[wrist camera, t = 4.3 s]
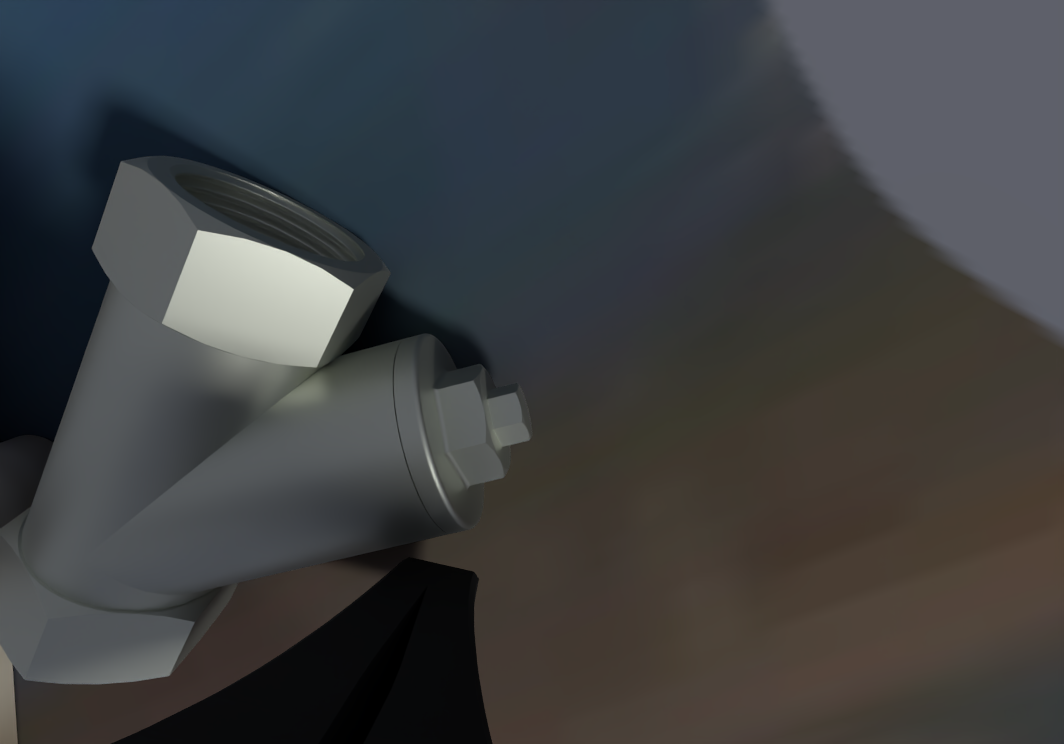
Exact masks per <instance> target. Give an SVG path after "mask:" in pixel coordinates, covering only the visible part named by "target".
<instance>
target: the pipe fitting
mask: <svg viewBox="0 0 1064 744" xmlns="http://www.w3.org/2000/svg"><path fill="white" fill-rule="evenodd" d="M92 250H93V252H94V254H95V256H96V258H97V260H98V261H99V263H100V265H101V267H102V268H103V270H104V272H105V274H106V275H107V276H108V278H109V279H110V282H109V285H108V288H107V291H106V294H105V297H104V299H103V302H102V305H101V308H100V311H99V314H98V317H97V319H96V322H95V325H94V328H93V331H92V334H91V337H90V340H89V342H88V345H87V348H86V351H85V354H84V357H83V360H82V362H81V365H80V368H79V371H78V374H77V377H76V380H75V383H74V385H73V388H72V391H71V394H70V397H69V400H68V403H67V406H66V408H65V411H64V414H63V417H62V420H61V423H60V425H59V428H58V431H57V434H56V437H55V440H54V443H53V445H52V448H51V451H50V454H49V457H48V460H47V463H46V465H45V468H44V471H43V474H42V477H41V480H40V482H39V485H38V488H37V491H36V494H35V497H34V500H33V502H32V505H31V507H30V508H28V509H27V510H25V511H24V512H23V513H21V514H20V515H18V516H17V517H16V518H14V519H13V520H12V521H10V522H9V523H8V524H6V525H5V526H3V527H2V528H1V529H0V645H1V647H2V648H3V650H4V652H5V653H6V655H7V657H8V658H9V660H10V661H11V663H12V664H13V665H14V667H15V668H16V669H17V671H18V672H19V673H20V675H21V676H22V677H23V678H24V680H30V681H39V682H49V683H60V684H108V683H120V682H133V681H140V680H147V679H153V678H159V677H166V676H170V674H171V673H172V672H173V671H174V670H175V669H176V668H177V667H178V665H179V664H180V663H181V662H182V661H183V660H184V659H185V657H186V656H187V655H188V654H189V653H190V651H191V650H192V649H193V648H194V646H195V645H196V644H197V643H198V642H199V640H200V639H201V638H202V637H203V635H204V634H205V633H206V631H207V630H208V629H209V628H210V626H211V625H212V624H213V622H214V621H215V620H216V618H217V617H218V616H219V614H220V613H221V612H222V610H223V609H224V608H225V606H226V605H227V604H228V602H229V601H230V599H231V597H232V595H233V593H234V591H235V589H236V587H237V585H238V583H239V582H243V581H248V580H252V579H256V578H261V577H265V576H270V575H274V574H278V573H283V572H287V571H291V570H296V569H300V568H304V567H309V566H313V565H317V564H322V563H326V562H330V561H335V560H339V559H343V558H348V557H352V556H356V555H361V554H365V553H369V552H374V551H378V550H382V549H387V548H391V547H395V546H400V545H404V544H408V543H412V542H417V541H421V540H425V539H430V538H434V537H438V536H443V535H447V534H452V533H457V532H461V531H465V530H470V529H472V528H474V527H475V526H476V525H477V523H478V522H479V520H480V518H481V514H482V510H483V503H484V482H488V481H492V480H496V479H500V478H504V477H505V475H506V473H507V471H508V469H509V467H510V461H511V452H510V445H512V444H516V443H520V442H524V441H528V440H530V438H531V436H532V425H531V420H530V415H529V411H528V407H527V403H526V400H525V397H524V394H523V391H522V389H521V387H520V386H519V385H518V384H517V383H515V384H511V385H507V386H503V387H499V388H496V387H495V385H494V382H493V380H492V378H491V376H490V374H489V373H488V371H487V370H486V369H485V368H484V367H483V366H482V365H481V364H476V365H473V366H469V367H465V368H461V369H457V368H456V366H455V364H454V362H453V360H452V358H451V356H450V354H449V353H448V351H447V350H446V348H445V347H444V345H443V344H442V343H441V342H440V341H439V340H438V339H437V338H436V337H435V336H433V335H431V334H427V333H424V334H420V335H416V336H413V337H409V338H405V339H401V340H397V341H394V342H390V343H386V344H382V345H379V346H375V347H371V348H368V349H364V350H360V351H356V352H353V353H349V354H345V355H342V354H343V353H344V352H345V351H346V350H347V349H348V348H349V347H350V346H351V345H352V344H353V343H354V342H355V341H356V340H357V339H358V338H359V337H360V335H361V333H362V331H363V329H364V327H365V325H366V323H367V321H368V319H369V317H370V315H371V313H372V311H373V309H374V307H375V304H376V302H377V300H378V298H379V296H380V294H381V292H382V290H383V288H384V286H385V284H386V282H387V280H388V278H389V276H390V274H391V272H390V271H389V270H388V268H387V267H386V266H385V264H384V263H383V262H382V260H381V259H380V258H379V256H378V255H377V254H376V253H375V252H374V251H373V250H372V249H371V248H370V247H369V246H368V245H367V244H365V243H364V242H363V241H362V240H360V239H359V238H358V237H356V236H355V235H354V234H352V233H351V232H349V231H348V230H346V229H345V228H343V227H342V226H340V225H339V224H337V223H335V222H334V221H332V220H330V219H329V218H327V217H325V216H323V215H322V214H320V213H318V212H316V211H315V210H313V209H311V208H309V207H307V206H305V205H303V204H301V203H299V202H297V201H295V200H293V199H291V198H289V197H287V196H285V195H283V194H281V193H279V192H277V191H274V190H272V189H270V188H268V187H265V186H263V185H261V184H259V183H256V182H254V181H251V180H249V179H246V178H244V177H241V176H239V175H236V174H233V173H231V172H228V171H225V170H222V169H219V168H216V167H213V166H210V165H207V164H203V163H200V162H196V161H192V160H188V159H183V158H178V157H172V156H148V157H140V158H135V159H130V160H125V161H121V163H120V166H119V169H118V171H117V174H116V177H115V180H114V183H113V186H112V189H111V192H110V195H109V198H108V201H107V204H106V207H105V210H104V213H103V216H102V219H101V222H100V225H99V228H98V231H97V234H96V237H95V240H94V243H93V246H92ZM340 355H341V356H340Z"/></svg>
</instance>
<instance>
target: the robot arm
mask: <svg viewBox="0 0 1064 744" xmlns="http://www.w3.org/2000/svg"><path fill="white" fill-rule="evenodd" d="M478 580H479V578H478V577H477V575H476V574H475V573H474V572H473V571H468V570H464V569H459V568H455V567H451V566H446V565H442V564H437V563H433V562H428V561H424V560H419V559H415V558H410V557H408V558H407V559H405V560H403V561H402V562H401V563H399V564H398V565H397V566H396V567H395V568H394V569H393V570H391V571H390V572H389V573H388V574H387V575H386V576H384V577H383V578H382V579H381V580H380V581H379V582H377V583H376V584H375V585H374V586H373V587H371V588H370V589H369V590H368V591H367V592H365V593H364V594H363V595H362V596H360V597H359V598H358V599H357V600H355V601H354V602H353V603H352V604H350V605H349V606H348V607H346V608H345V609H344V610H342V611H341V612H340V613H339V614H337V615H336V616H335V617H333V618H332V619H331V620H329V621H328V622H327V623H325V624H324V625H323V626H321V627H320V628H318V629H317V630H316V631H314V632H313V633H311V634H310V635H308V636H307V637H305V638H304V639H303V640H301V641H300V642H298V643H297V644H295V645H294V646H292V647H291V648H289V649H288V650H287V651H285V652H284V653H282V654H281V655H279V656H278V657H276V658H274V659H273V660H271V661H270V662H268V663H266V664H265V665H263V666H262V667H260V668H258V669H257V670H255V671H254V672H252V673H250V674H249V675H247V676H245V677H243V678H242V679H240V680H238V681H236V682H235V683H233V684H231V685H230V686H228V687H226V688H224V689H223V690H221V691H219V692H217V693H215V694H213V695H211V696H210V697H208V698H206V699H204V700H202V701H200V702H198V703H196V704H194V705H192V706H190V707H188V708H186V709H184V710H182V711H180V712H178V713H176V714H174V715H172V716H170V717H168V718H166V719H164V720H162V721H160V722H158V723H156V724H154V725H152V726H150V727H148V728H146V729H143V730H141V731H139V732H137V733H135V734H132V735H130V736H128V737H125V738H123V739H121V740H119V741H116V742H114V743H112V744H492V740H491V736H490V732H489V728H488V723H487V718H486V714H485V709H484V703H483V698H482V692H481V686H480V680H479V673H478V666H477V656H476V646H475V635H474V602H475V597H476V591H477V586H478Z"/></svg>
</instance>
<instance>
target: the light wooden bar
mask: <svg viewBox="0 0 1064 744" xmlns="http://www.w3.org/2000/svg"><path fill="white" fill-rule="evenodd" d="M53 443H54V442H52V441H50V440H48V439H46V438H43V437H40V436H36V435H22V436H18V437H15V438H12V439H10V440H7V441H4V442H1V443H0V529H1V528H2V527H3V526H5V525H6V524H8V523H9V522H10V521H12V520H13V519H14V518H16V517H17V516H18V515H20V514H21V513H23V512H24V511H25V510H27V509H28V508H30V507H31V505H32V502H33V500H34V497H35V494H36V491H37V488H38V485H39V482H40V480H41V477H42V474H43V471H44V468H45V465H46V463H47V460H48V457H49V454H50V451H51V448H52V445H53ZM0 744H18V740H17V725H16V710H15V694H14V679H13V664H12V663H11V661H10V660H9V658H8V657H7V655H6V653H5V652H4V650H3V648H2V647H1V645H0Z"/></svg>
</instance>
